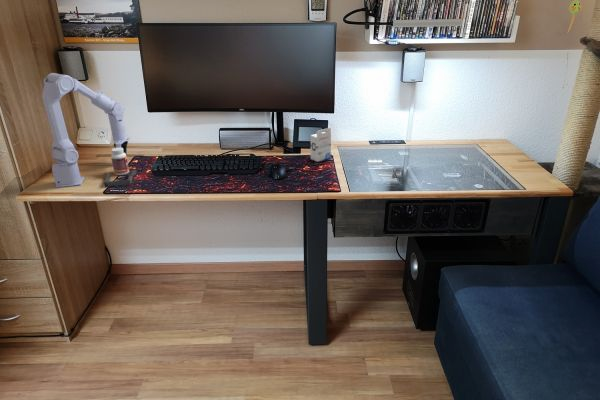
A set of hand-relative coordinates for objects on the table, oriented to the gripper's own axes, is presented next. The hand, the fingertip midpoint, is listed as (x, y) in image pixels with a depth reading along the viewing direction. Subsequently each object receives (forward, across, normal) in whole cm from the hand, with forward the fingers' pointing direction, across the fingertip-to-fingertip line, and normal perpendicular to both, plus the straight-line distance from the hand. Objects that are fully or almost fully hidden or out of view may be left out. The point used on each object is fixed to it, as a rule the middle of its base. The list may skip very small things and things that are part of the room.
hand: (123, 157), depth 201 cm
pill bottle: (+3, -11, 0) cm, 11 cm away
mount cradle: (+3, -20, 0) cm, 20 cm away
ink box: (+3, -17, -89) cm, 91 cm away
